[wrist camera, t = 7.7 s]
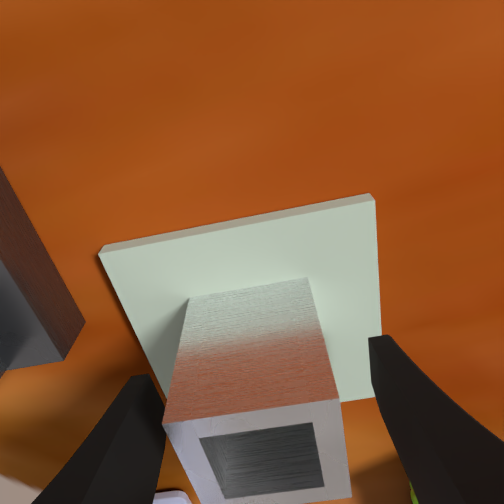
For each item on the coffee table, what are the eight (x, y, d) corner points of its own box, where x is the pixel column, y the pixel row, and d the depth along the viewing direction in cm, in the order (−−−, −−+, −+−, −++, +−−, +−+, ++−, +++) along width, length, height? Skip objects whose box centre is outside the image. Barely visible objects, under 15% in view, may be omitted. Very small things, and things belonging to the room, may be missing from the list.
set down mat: (380, 384, 16) (384, 395, 16) (181, 414, 17) (179, 426, 17) (369, 193, 12) (374, 199, 12) (104, 245, 13) (97, 253, 12)
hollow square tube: (326, 397, 16) (356, 532, 12) (229, 411, 16) (223, 547, 12) (307, 277, 13) (339, 397, 9) (189, 297, 13) (161, 424, 9)
